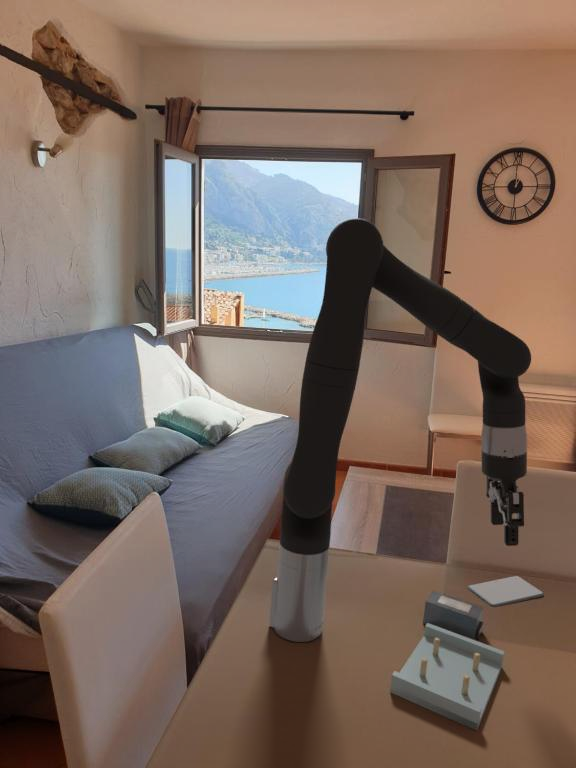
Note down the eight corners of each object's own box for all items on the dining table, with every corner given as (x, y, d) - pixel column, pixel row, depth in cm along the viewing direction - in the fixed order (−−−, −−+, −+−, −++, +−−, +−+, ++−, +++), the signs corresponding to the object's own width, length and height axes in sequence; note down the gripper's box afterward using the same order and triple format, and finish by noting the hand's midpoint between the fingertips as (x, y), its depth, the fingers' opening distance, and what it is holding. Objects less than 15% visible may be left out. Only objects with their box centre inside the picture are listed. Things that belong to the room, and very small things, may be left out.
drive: (422, 624, 116) (425, 600, 115) (430, 612, 120) (433, 590, 119) (476, 644, 111) (480, 619, 110) (482, 631, 115) (486, 607, 114)
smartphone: (465, 585, 131) (517, 574, 137) (465, 589, 131) (516, 578, 137) (492, 605, 123) (545, 593, 129) (491, 609, 124) (544, 597, 130)
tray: (390, 692, 96) (392, 669, 95) (425, 638, 111) (427, 617, 110) (476, 730, 89) (480, 706, 88) (502, 667, 104) (505, 646, 103)
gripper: (472, 437, 111) (473, 518, 114) (493, 461, 97) (493, 553, 100) (513, 435, 110) (513, 517, 113) (540, 459, 96) (539, 551, 99)
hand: (504, 534), depth 106 cm, fingers open, 8 cm apart
